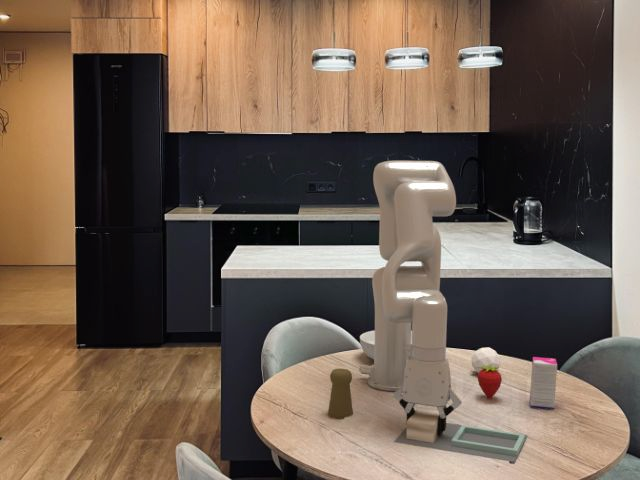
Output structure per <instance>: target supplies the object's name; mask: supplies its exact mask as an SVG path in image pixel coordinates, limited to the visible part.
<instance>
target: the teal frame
mask: <svg viewBox="0 0 640 480" xmlns="http://www.w3.org/2000/svg"><path fill="white" fill-rule="evenodd" d="M461 425H462V426H461V427H460V429H459V430H458V432H457V433H456V435H455V436H454V437H453V439H452V440H451V446H456V447H462V448H468V449H474V450H481V451H487V452H493V453H499V454H505V455H511V456H517V455H518V453H519V451H520V449H521V450H522V448H523V446H524V444H525V442H526V440H525V435H526V434H522V433H517V432H510V431H504V430H497V429H492V428H491V429H490V428H485V427H478V426H477V427H476V426H470V425H465V424H461ZM465 432H467V433H473V434H480V435H486V436H492V437H499V438H505V439H512V440H517V442H516V444H515V446H514V448H507V447H501V446H495V445H488V444H482V443H476V442H470V441H463V440H460V439H461V438H462V436H463V435H464V433H465ZM524 441H525V442H524ZM523 443H524V444H523ZM522 445H523V446H522ZM521 447H522V448H521ZM520 452H521V451H520ZM519 454H520V453H519ZM518 456H519V455H518Z"/></svg>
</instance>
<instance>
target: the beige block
mask: <svg viewBox="0 0 640 480" xmlns="http://www.w3.org/2000/svg"><path fill="white" fill-rule="evenodd" d="M415 411H416V412H415V413H414V414H413V415H412V416H411V417H410V418H409V419H408V420H407V419H406V421H407V424H406V427H407V437H406V438H407V439H413V440H419V441H425V442H431V443H433V442H434V441H435V440H436V438H437V437H438V436H439V435H438V434H437V430H438V417H439V415H440V414H439V412H438V409H436V408H430V407H425V406H424V407H423V406H419V407H418V408H417V409H415Z"/></svg>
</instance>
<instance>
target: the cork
mask: <svg viewBox="0 0 640 480" xmlns="http://www.w3.org/2000/svg"><path fill="white" fill-rule="evenodd" d="M329 377H330V382H331V390H330V398H329V404H328V410H327V415H328V417H329V418H332V419H337V420H344V419H345V418H349V417H351V416H353V415H354V409H353V401H352V392H351V391H352V390H351V385H350V384H351V382H352V380H353V373H352V372H351V370H349V369H347V368H336V369H333V370H332V371H331V372H330V374H329Z"/></svg>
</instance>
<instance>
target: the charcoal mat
mask: <svg viewBox="0 0 640 480" xmlns="http://www.w3.org/2000/svg"><path fill="white" fill-rule="evenodd" d="M462 425H463V424H456V423H448V422H446V430H445V431H443V433H442V434H441V435H439V436H438V437H437V438H436V440H435V441H434V442H433V443H431V442H425V441H419V440H413V439H407V438H406V437H407V426H405V428H404V429H403V430H402V431H401V433H399V435H398V436H397V437H396V438H395V439H394V440H393V442H394V443H396V444H397V443H398V444H404V445H408V446H409V445H411V446H415V447H422V448H428V449H435V450H439V451H446V452H453V453H459V454H462V455H463V454H464V455H471V456H477V457H482V458H483V457H484V458H489V459H495V460H501V461H506V462H508V463H509V464H515V463H516V460H517V459H518V458H519V455H520V453H521V451H522V449H523V446H524V444H525V442H526V439H528V435H527V434H524V435H525V441H524V443H523V445H522V447H521V449H520V451H519V453H518V455H517V456H511V455H505V454H499V453H493V452H487V451H481V450H474V449H468V448H462V447H456V446H451V440H452V439H453V437H454V436H455V435H456V433H457V432H458V430H459V429H460V427H461V426H462ZM460 440H463V441H470V442H476V443H482V444H488V445H495V446H501V447H507V448H514V446H515V444H516V442H517V440H512V439H505V438H499V437H492V436H486V435H480V434H473V433H467V432H465V433H464V435H463V436H462V438H461V439H460Z"/></svg>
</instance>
